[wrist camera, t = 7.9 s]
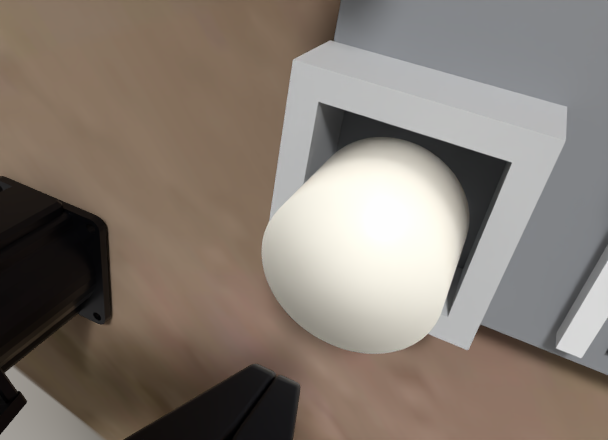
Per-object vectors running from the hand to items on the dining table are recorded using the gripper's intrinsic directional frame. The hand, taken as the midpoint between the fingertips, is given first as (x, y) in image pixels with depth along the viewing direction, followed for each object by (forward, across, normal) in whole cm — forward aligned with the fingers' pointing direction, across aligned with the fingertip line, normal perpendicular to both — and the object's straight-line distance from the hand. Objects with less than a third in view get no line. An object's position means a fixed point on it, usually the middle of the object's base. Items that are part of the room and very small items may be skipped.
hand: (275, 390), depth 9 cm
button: (+6, 0, 0) cm, 6 cm away
